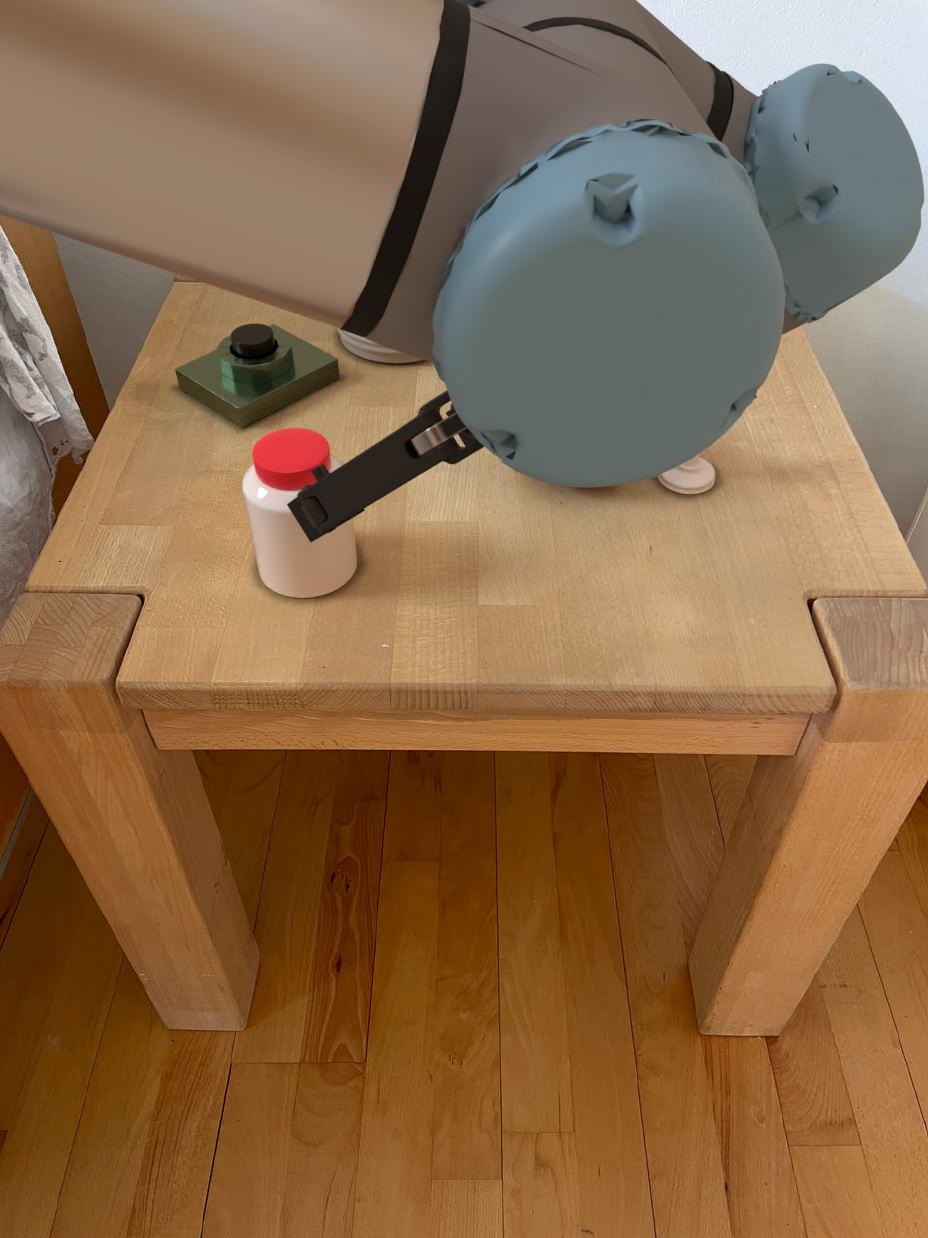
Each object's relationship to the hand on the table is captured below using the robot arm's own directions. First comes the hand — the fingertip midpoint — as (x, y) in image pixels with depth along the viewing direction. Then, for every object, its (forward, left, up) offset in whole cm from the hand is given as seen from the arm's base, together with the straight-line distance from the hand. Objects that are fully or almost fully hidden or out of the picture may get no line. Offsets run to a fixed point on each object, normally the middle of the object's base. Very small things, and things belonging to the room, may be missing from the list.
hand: (385, 472), depth 64 cm
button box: (+14, +34, -14) cm, 39 cm away
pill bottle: (0, +10, -14) cm, 17 cm away
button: (+14, +34, -10) cm, 38 cm away
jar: (+30, +31, -14) cm, 45 cm away
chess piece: (+30, -5, -14) cm, 33 cm away
